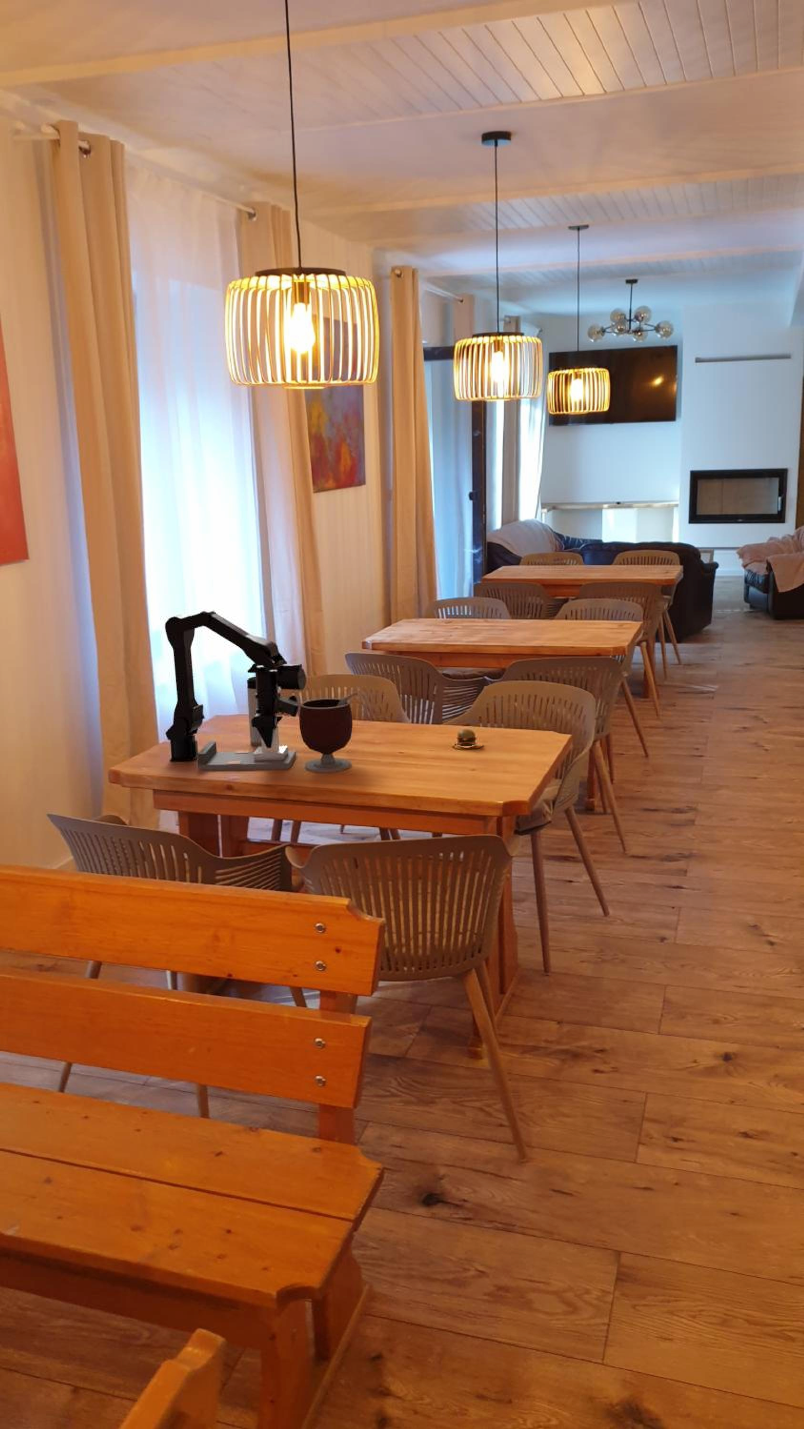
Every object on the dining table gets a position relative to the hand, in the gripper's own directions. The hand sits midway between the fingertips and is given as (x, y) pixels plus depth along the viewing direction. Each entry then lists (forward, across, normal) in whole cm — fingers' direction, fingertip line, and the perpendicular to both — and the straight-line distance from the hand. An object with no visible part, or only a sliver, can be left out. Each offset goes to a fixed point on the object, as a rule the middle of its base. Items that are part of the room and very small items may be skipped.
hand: (270, 746), depth 306 cm
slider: (+3, 0, 0) cm, 3 cm away
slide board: (+5, 0, +6) cm, 8 cm away
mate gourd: (+5, -5, -17) cm, 18 cm away
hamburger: (+6, +14, -53) cm, 55 cm away
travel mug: (+5, +22, +6) cm, 23 cm away
